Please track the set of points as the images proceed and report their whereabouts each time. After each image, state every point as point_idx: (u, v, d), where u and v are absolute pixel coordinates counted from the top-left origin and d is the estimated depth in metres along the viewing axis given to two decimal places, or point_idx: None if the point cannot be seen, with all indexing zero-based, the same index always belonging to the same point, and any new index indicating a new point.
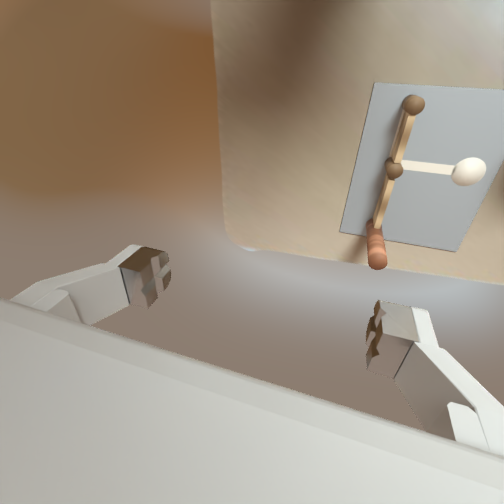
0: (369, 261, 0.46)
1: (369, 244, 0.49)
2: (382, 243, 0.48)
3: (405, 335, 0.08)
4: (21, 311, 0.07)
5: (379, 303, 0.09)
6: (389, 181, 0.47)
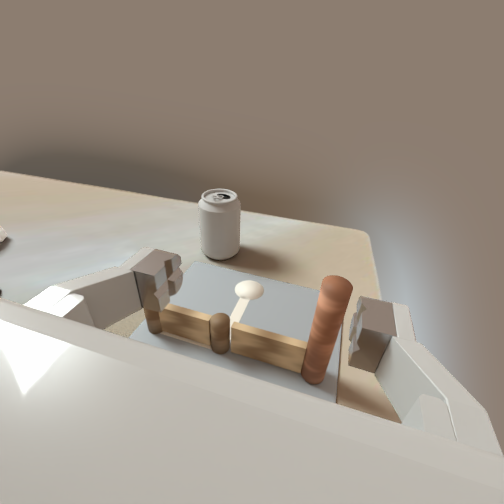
0: (337, 293, 0.26)
1: (321, 324, 0.28)
2: None
3: (384, 330, 0.08)
4: (21, 311, 0.07)
5: (361, 299, 0.09)
6: (232, 326, 0.34)
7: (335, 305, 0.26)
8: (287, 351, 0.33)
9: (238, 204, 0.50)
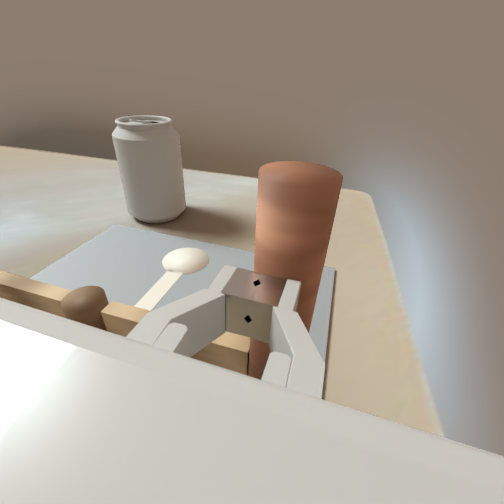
0: (297, 186, 0.09)
1: None
2: None
3: (268, 301, 0.09)
4: (21, 311, 0.07)
5: (260, 276, 0.10)
6: (105, 310, 0.17)
7: (294, 226, 0.09)
8: (212, 358, 0.16)
9: (173, 133, 0.33)
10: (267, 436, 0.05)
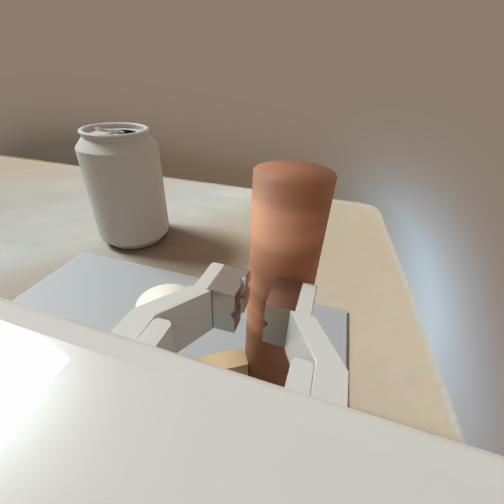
0: (313, 185, 0.09)
1: None
2: None
3: (285, 305, 0.09)
4: (21, 311, 0.07)
5: (275, 279, 0.10)
6: None
7: (311, 225, 0.09)
8: None
9: (150, 144, 0.27)
10: (267, 436, 0.05)
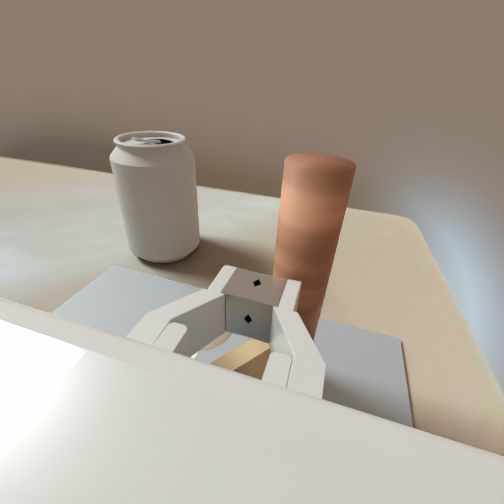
0: (346, 170, 0.11)
1: (314, 270, 0.13)
2: (275, 254, 0.14)
3: (269, 301, 0.09)
4: (21, 311, 0.07)
5: (261, 276, 0.10)
6: None
7: (343, 204, 0.11)
8: None
9: (187, 155, 0.26)
10: (267, 436, 0.05)
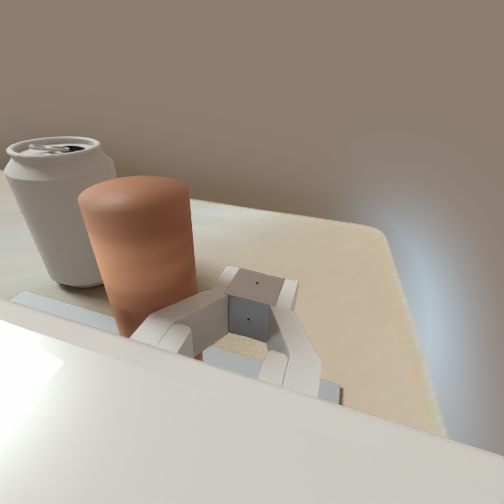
0: (157, 208, 0.07)
1: None
2: None
3: (266, 300, 0.09)
4: (21, 311, 0.07)
5: (258, 275, 0.10)
6: None
7: (169, 254, 0.08)
8: None
9: (99, 165, 0.22)
10: (267, 436, 0.05)
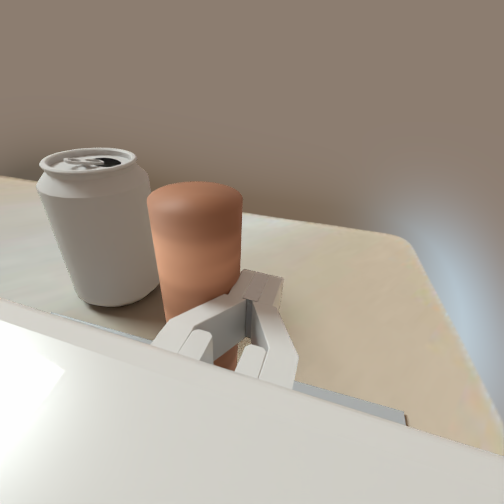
0: (230, 208, 0.08)
1: None
2: (165, 315, 0.10)
3: (249, 296, 0.09)
4: (21, 311, 0.07)
5: None
6: None
7: (235, 247, 0.09)
8: None
9: (138, 180, 0.21)
10: (267, 436, 0.05)
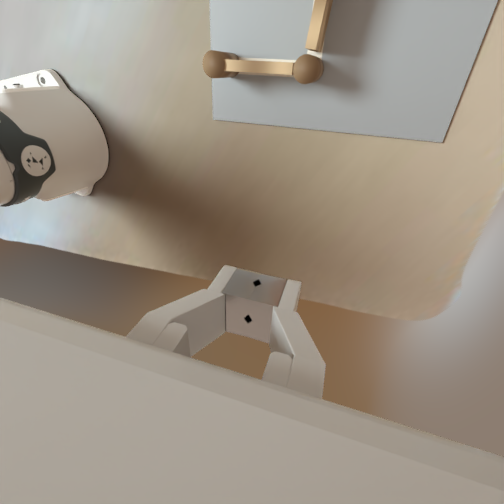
0: None
1: None
2: None
3: (268, 301, 0.09)
4: (21, 311, 0.07)
5: (260, 276, 0.10)
6: (314, 47, 0.26)
7: None
8: None
9: None
10: (267, 436, 0.05)
